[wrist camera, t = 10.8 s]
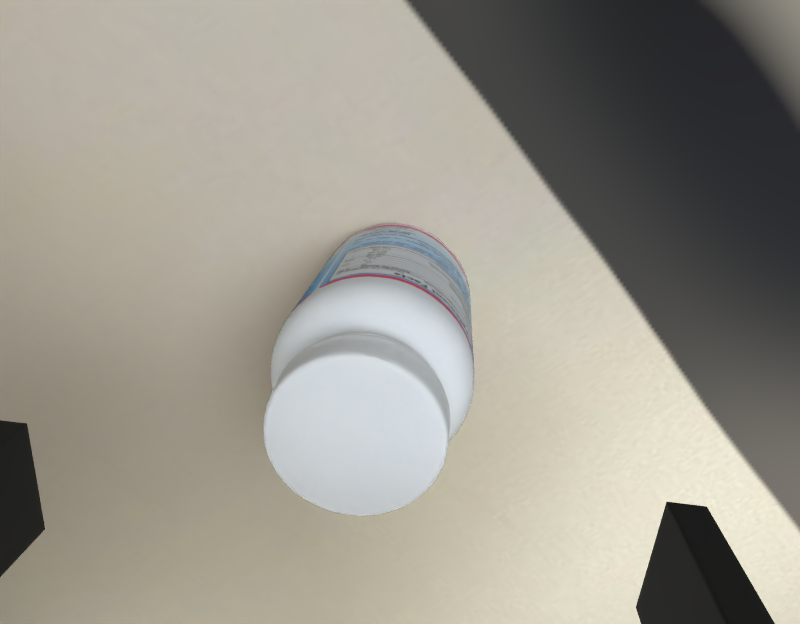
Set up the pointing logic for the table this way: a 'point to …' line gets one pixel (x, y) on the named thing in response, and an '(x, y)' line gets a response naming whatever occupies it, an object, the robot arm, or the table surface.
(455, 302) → the pill bottle
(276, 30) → the table surface
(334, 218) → the table surface
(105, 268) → the table surface
